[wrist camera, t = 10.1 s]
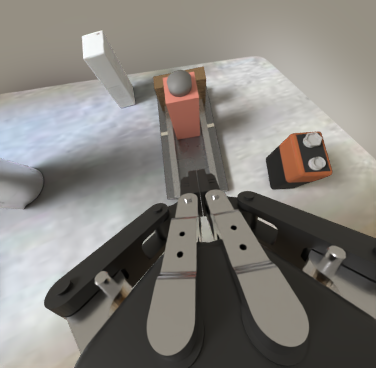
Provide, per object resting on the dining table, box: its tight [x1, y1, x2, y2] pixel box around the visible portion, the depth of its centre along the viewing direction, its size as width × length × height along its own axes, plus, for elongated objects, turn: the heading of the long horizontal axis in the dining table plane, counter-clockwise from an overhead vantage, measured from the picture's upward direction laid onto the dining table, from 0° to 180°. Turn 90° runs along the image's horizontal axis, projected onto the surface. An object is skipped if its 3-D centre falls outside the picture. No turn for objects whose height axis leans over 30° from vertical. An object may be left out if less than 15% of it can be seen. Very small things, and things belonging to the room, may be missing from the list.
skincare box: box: [82, 30, 135, 108], centre depth 31 cm, size 6×4×12 cm
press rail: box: [153, 66, 228, 200], centre depth 29 cm, size 26×12×8 cm, turn 8°
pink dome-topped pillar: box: [163, 70, 200, 140], centre depth 26 cm, size 5×5×11 cm
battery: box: [266, 132, 332, 189], centre depth 24 cm, size 4×7×10 cm, turn 2°
